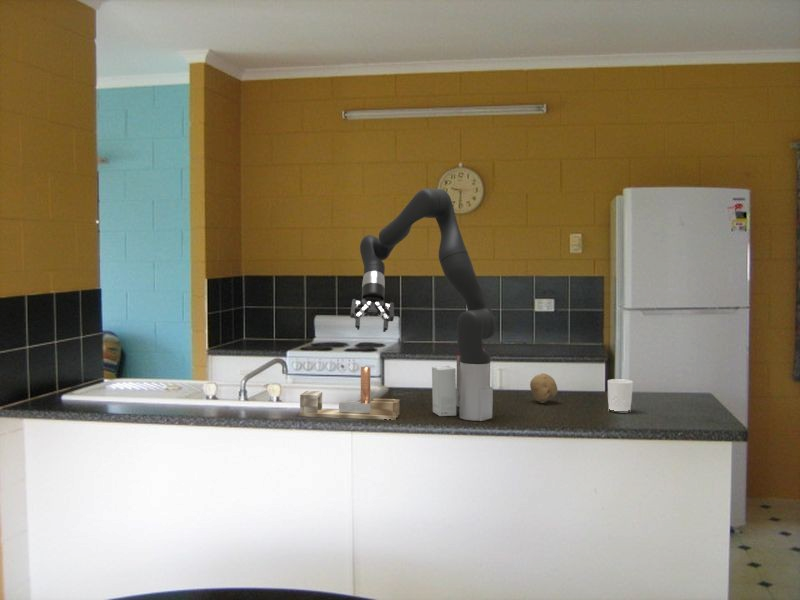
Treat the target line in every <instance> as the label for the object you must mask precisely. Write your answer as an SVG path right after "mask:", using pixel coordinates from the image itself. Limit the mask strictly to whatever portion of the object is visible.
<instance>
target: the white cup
mask: <svg viewBox="0 0 800 600" xmlns="http://www.w3.org/2000/svg"><path fill="white" fill-rule="evenodd" d="M633 385H634V381H632V380H630V379H624V378H623V379H620V378H618V379H616V378H612V379H608V380H607V403H608V410H609V409H610V410H614V411H628V410H630V411H631V408H632V407H631V405H632V399H633V389H634V387H633Z"/></svg>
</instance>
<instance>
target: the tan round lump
mask: <svg viewBox="0 0 800 600" xmlns="http://www.w3.org/2000/svg"><path fill="white" fill-rule="evenodd" d="M529 383H530V384H529V386H530V391H531V394H532V396H533V397H534V399H535V400H536V401H537V402H538V401H539V403H540V402H545V403H546V402H547V401H549V400H550V399H552V398H554V397H556V395H557V393H558V386H557V385H558V384H557V383H556V381H555V379H554V378H553V377H552V376H551V375H550V374H547V373H540V374H537V375H535V376H533V377H532V379H531V380H530V382H529Z"/></svg>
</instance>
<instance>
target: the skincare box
mask: <svg viewBox="0 0 800 600" xmlns="http://www.w3.org/2000/svg"><path fill="white" fill-rule="evenodd" d="M456 375H457V370H456V368H455V367H452V366H449V365H438V366H431V388H432V389H431V391H432V397H431V398H432V413H434V414H435V415H438V416H439V417H448V416H449V417H456V416H457V406H456Z"/></svg>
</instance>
